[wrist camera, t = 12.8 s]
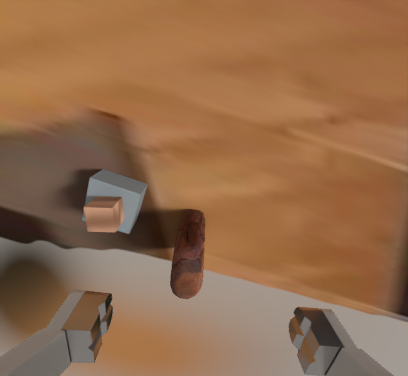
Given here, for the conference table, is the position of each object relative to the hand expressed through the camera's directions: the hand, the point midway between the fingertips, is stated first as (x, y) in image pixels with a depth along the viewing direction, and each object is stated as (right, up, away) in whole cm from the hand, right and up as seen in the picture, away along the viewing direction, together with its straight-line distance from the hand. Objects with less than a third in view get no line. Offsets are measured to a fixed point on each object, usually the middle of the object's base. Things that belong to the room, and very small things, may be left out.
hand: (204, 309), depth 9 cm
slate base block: (-19, +4, +38) cm, 43 cm away
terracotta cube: (-19, +1, +33) cm, 38 cm away
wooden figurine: (-3, -5, +42) cm, 42 cm away
